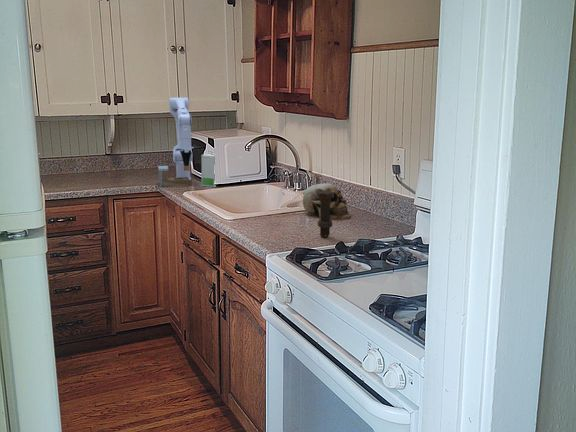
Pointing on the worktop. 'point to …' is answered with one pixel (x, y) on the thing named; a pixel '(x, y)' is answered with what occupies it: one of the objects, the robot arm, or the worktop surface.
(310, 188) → the grey skull
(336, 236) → the worktop surface
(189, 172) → the robot arm
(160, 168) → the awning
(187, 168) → the peg
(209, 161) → the skincare box
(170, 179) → the socket block
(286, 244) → the worktop surface
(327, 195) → the bolt
